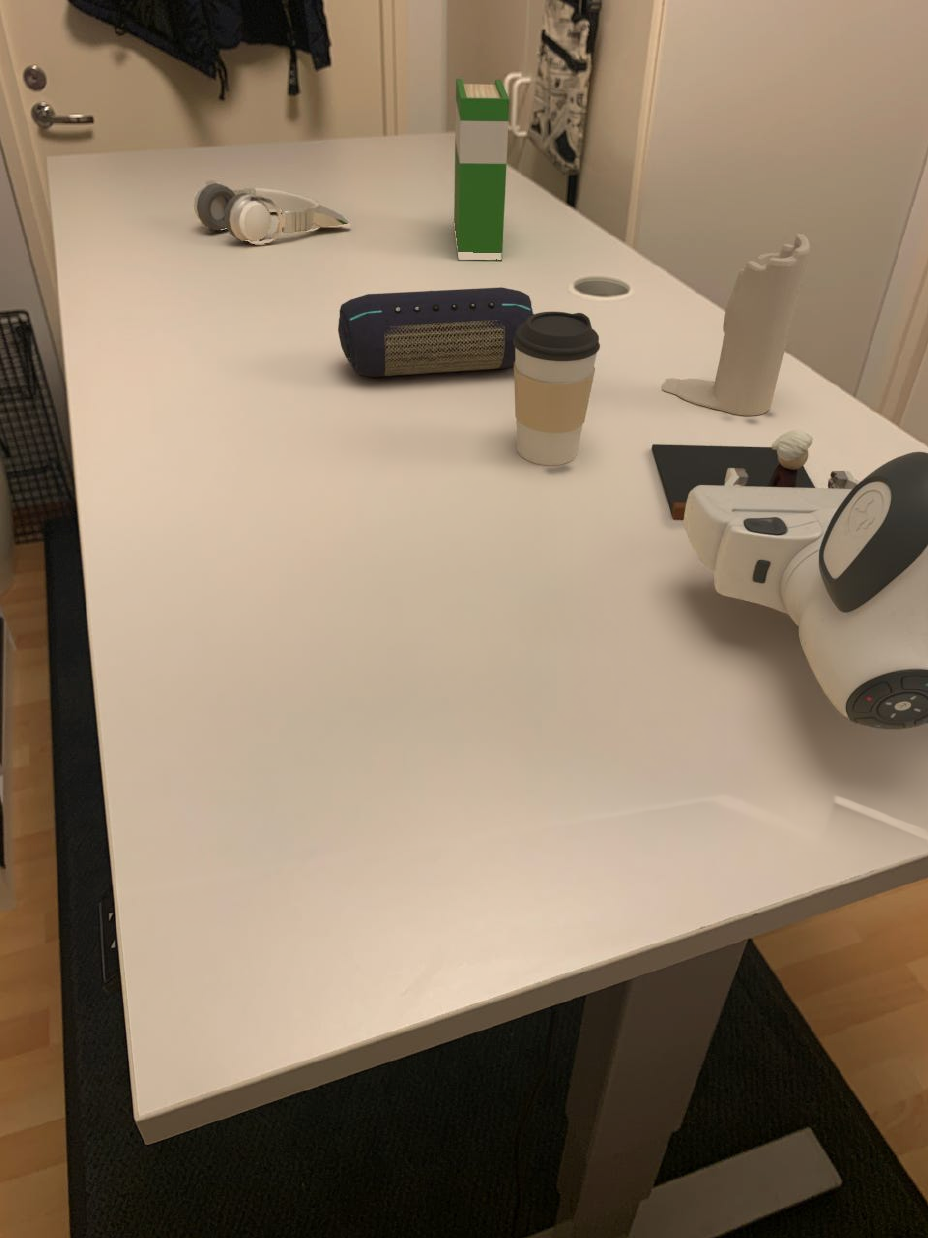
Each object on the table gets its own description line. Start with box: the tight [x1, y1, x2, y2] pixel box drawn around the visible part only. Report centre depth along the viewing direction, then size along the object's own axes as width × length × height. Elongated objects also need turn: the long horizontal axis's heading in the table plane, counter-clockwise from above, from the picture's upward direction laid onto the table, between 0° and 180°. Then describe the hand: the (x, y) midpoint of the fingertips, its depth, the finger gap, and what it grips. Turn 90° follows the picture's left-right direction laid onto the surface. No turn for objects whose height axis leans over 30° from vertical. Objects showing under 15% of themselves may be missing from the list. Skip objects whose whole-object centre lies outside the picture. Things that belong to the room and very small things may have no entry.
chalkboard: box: [651, 443, 816, 520], centre depth 97 cm, size 16×15×1 cm
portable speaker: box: [337, 287, 535, 378], centre depth 116 cm, size 25×10×10 cm, turn 102°
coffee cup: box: [513, 311, 601, 466], centre depth 98 cm, size 9×9×15 cm
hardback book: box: [453, 78, 511, 262], centre depth 152 cm, size 18×7×24 cm, turn 3°
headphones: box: [193, 179, 350, 246], centre depth 163 cm, size 22×8×22 cm
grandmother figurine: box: [768, 430, 814, 488], centre depth 84 cm, size 8×4×13 cm, turn 170°
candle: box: [661, 233, 811, 417], centre depth 108 cm, size 7×14×20 cm, turn 60°
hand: (785, 476), depth 83 cm, fingers open, 8 cm apart
